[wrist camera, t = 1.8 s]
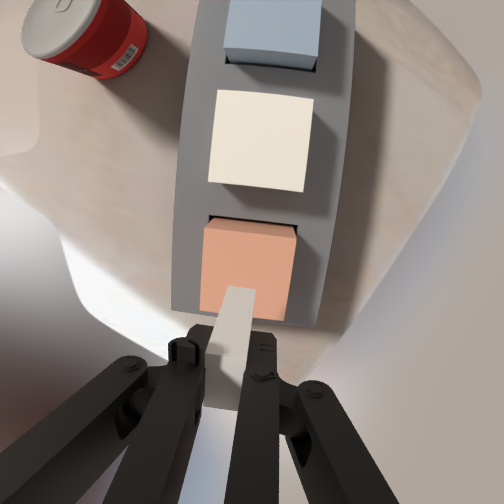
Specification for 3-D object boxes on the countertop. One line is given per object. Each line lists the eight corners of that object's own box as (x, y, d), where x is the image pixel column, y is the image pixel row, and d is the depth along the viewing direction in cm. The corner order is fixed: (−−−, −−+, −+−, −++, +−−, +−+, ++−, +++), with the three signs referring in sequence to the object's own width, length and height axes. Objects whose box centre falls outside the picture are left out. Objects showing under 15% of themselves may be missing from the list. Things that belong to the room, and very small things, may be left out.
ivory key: (228, 102, 23) (217, 89, 18) (305, 110, 23) (313, 99, 18) (220, 177, 25) (207, 181, 20) (296, 185, 24) (303, 192, 20)
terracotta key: (216, 214, 26) (204, 227, 21) (292, 223, 25) (296, 238, 21) (211, 283, 27) (199, 310, 22) (281, 292, 27) (283, 320, 22)
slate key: (240, 5, 20) (234, -23, 16) (314, 12, 20) (322, -15, 15) (232, 67, 22) (223, 47, 17) (308, 75, 22) (317, 56, 17)
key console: (216, 6, 24) (204, -23, 18) (341, 18, 23) (355, -9, 18) (188, 283, 32) (171, 310, 26) (308, 297, 31) (314, 327, 26)
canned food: (155, 8, 24) (109, -42, 13) (144, 77, 26) (86, 46, 16) (92, 19, 24) (33, -16, 14) (80, 84, 26) (11, 66, 16)
